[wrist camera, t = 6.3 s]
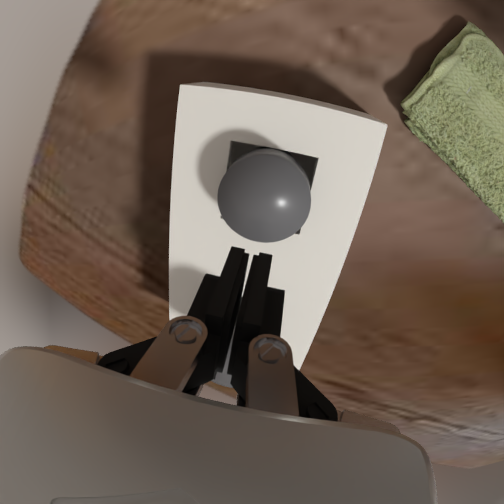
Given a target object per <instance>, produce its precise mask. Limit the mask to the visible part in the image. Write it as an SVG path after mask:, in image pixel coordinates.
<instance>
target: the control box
mask: <svg viewBox="0 0 504 504" xmlns="http://www.w3.org/2000/svg"><path fill="white" fill-rule="evenodd" d="M386 129H387V124H385V123H384V122H382V121H380V120H378V119H377V118H375V117H373V116H371V115H370V114H367V113H364V112H360V111H357V110H353V109H349V108H346V107H342V106H338V105H334V104H330V103H326V102H322V101H318V100H313V99H309V98H304V97H300V96H295V95H290V94H285V93H279V92H274V91H268V90H262V89H256V88H250V87H243V86H236V85H228V84H220V83H211V82H198V83H189V84H180V89H179V98H178V107H177V117H176V128H175V139H174V152H173V166H172V183H171V203H170V232H169V317H170V320H171V319H173V318H175V317H179V316H187V314H188V312H189V309H190V307H191V305H192V303H193V300H194V298H195V296H196V293H197V291H198V289H199V287H200V284H201V282H202V280H203V278H204V276H205V274H206V273H207V274H212V275H216V276H220V275H221V272H222V270H223V267H224V264H225V262H226V259H227V257H228V254H229V251H230V249H231V247H232V246H234V247H238V248H243V249H245V253H249V259H248V265H247V270H246V276H245V281H244V287H243V292H242V297H243V293H244V289H245V285H246V281H247V278H248V274H249V270H250V266H251V262H252V258H253V255H259V252H262V253H267V254H271V255H273V256H272V262H271V268H270V274H269V280H268V286H267V287H272V288H277V289H281V290H285V297H284V307H283V317H282V326H281V335H280V337H281V338H283V339H284V340H285V341H287V343H288V344H289V345H290V347H291V350H292V355H293V363H294V366H295V367H296V368H297V369H298V370H300V368H301V365H302V363H303V361H304V359H305V357H306V354H307V352H308V350H309V348H310V345H311V343H312V341H313V338H314V336H315V334H316V331H317V329H318V327H319V324H320V322H321V320H322V317H323V315H324V312H325V310H326V307H327V305H328V303H329V300H330V298H331V295H332V293H333V290H334V287H335V285H336V282H337V280H338V277H339V274H340V272H341V269H342V267H343V264H344V261H345V258H346V256H347V253H348V250H349V247H350V245H351V242H352V239H353V236H354V233H355V230H356V227H357V225H358V222H359V219H360V216H361V213H362V210H363V207H364V204H365V200H366V197H367V194H368V191H369V188H370V185H371V181H372V178H373V175H374V171H375V168H376V165H377V161H378V158H379V154H380V151H381V147H382V144H383V140H384V136H385V133H386ZM261 147H270V148H275V149H280V150H285V151H288V152H289V153H290V154H291V155H292V156H293V157H294V159H295V160H296V161H297V162H298V163H299V164H300V165H301V166H302V167H303V169H304V170H305V172H306V174H307V177H308V180H309V184H310V193H311V208H310V212H309V215H308V218H307V220H306V222H305V223H304V225H303V226H302V227H301V228H300V229H299V230H298V231H297V232H296V233H295V234H293V235H292V236H290V237H288V238H286V239H284V240H281V241H277V242H270V243H262V242H255V241H252V240H249V239H246V238H244V237H242V236H240V235H239V234H237V233H236V232H234V231H233V230H232V229H231V228H230V227H229V226H228V225H227V223H226V222H225V221H224V219H223V217H222V215H221V213H220V210H219V207H218V200H217V195H218V188H219V185H220V182H221V180H222V178H223V176H224V175H225V173H226V172H227V171H228V169H229V168H230V166H231V165H232V164H233V162H234V161H235V160H236V159H238V158H239V157H240V156H242V155H243V154H245V153H247V152H250V151H253V150H256V149H259V148H261Z"/></svg>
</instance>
